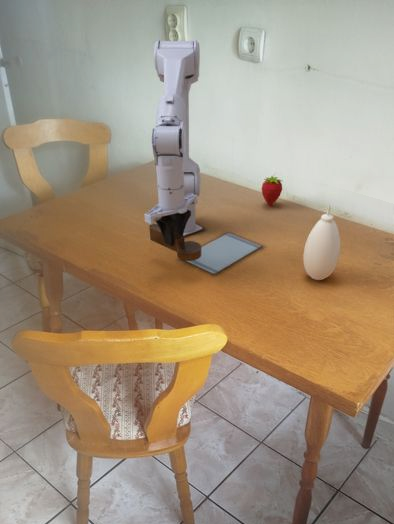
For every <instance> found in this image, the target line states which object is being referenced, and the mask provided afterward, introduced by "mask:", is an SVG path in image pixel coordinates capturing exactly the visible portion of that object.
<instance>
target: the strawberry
mask: <svg viewBox="0 0 394 524" xmlns="http://www.w3.org/2000/svg"><path fill="white" fill-rule="evenodd" d="M275 175H277V173H276V172H274V174H273V175H271V176H270V177H266V178H263V180H264V181H263V183H262V185H261V193H262V196H263V199H264V201H265V203H266V204H267V206H268V207H272V206H273V205H274V203H275V202H276V201H277V200H278V199H279V197H280V196H281V194H282V191H283V184H282V182H283V179H280V178H279V177H277V176H275Z"/></svg>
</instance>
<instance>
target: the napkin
mask: <svg viewBox="0 0 394 524" xmlns="http://www.w3.org/2000/svg"><path fill="white" fill-rule="evenodd" d="M201 247H202V255H201V257H200V258H199V259H197V260H193V261H186V262H187V263H189V264H191V265H193V266H196V267H197V268H200V269H201V270H203V271H206V272H207V273H210V274H213V275H216V274H218V273H219V272H222V271H223V270H225V269H226V268H228V267H229V266H231V265H233V264H235V263H237V262H239V261H240V260H241V259H243V258H245V257H247V256H248V255H250V254H252V253H253V252H255V251H258V250H259V249H261V248H262V246H261V245H260V244H257V243H255V242H252V241H250V240H247V239H245V238H242V237H239V236H237V235H234V234H232V233H230V232H227V233H225V234H223V235H222V236H220V237H217V238H216V239H214V240H212V241H210V242H208V243H206V244H205V245H203V246H201Z"/></svg>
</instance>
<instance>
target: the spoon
mask: <svg viewBox="0 0 394 524" xmlns="http://www.w3.org/2000/svg"><path fill="white" fill-rule="evenodd" d="M148 228H149V239H150V241H151V242H154V243H156V244H158V245H161V246H162V247H165V248H167V249H168V250H171V251H174V252H175V253H176V256H177V258H178V259H180V260H182V261H185V262H187V261H193V260H197V259H199V258H200V257H201V255H202V247H203V246H202V245H201V244H200V243H199V242H197V241H194V240H187V241H186V240H185V236H183V235H180V234H178V233H176V232H174V244H173V246H170V245H167V244H165V240H164V237H163V234H162V232H161V230H160V228H159V226H158V224H157V223H154V224H152V225H151V224H149V225H148Z"/></svg>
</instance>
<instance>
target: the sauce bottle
mask: <svg viewBox="0 0 394 524" xmlns="http://www.w3.org/2000/svg"><path fill="white" fill-rule="evenodd" d="M330 210H331V203H329V204H328V206H327V211H326V213H324V214H322V215H321V216H320V219H319V220H318V221H317V222H316V223H315V225H314V226H313V227H312V229H311V230H310V232H309V234H308V236H307V239H306V240H305V245H304V248H303V255H302V259H303V260H302V261H303V267H304V270H305V272H306V274H307V275H308V276H309V278H311V279H312V280H316V281H322V280H324V279H326V278H328V277H330V276H331V274H332V273H333V272H334V271H335V269H336V267H337V265H338V263H339V259H340V255H341V237H340V232H339V228H338V226H337V223H336V222H335V220H334V219H335V217H334V215H333V214H330V213H331V212H330Z"/></svg>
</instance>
